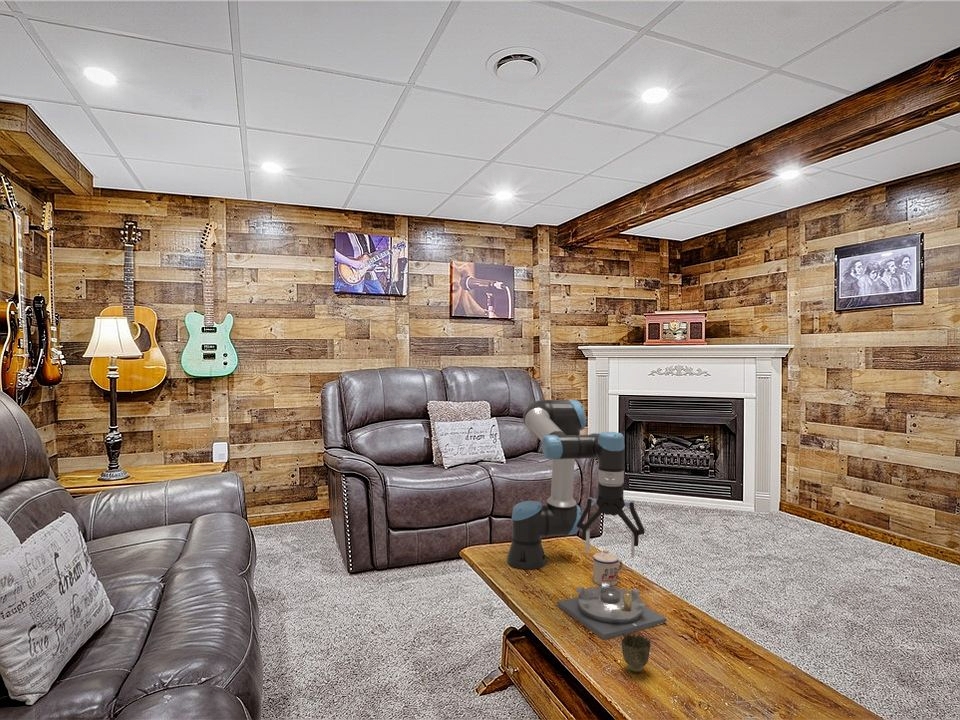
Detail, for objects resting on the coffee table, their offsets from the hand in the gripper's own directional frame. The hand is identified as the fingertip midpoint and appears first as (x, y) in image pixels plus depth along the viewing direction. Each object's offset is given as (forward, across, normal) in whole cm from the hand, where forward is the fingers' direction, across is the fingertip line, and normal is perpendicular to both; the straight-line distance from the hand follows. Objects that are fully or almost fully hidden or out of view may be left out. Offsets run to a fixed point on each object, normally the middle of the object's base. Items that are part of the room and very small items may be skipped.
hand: (609, 553), depth 172 cm
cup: (+22, +9, -22) cm, 33 cm away
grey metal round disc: (+20, 0, +8) cm, 21 cm away
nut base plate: (+22, 0, +8) cm, 23 cm away
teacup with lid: (+22, -3, +34) cm, 41 cm away
